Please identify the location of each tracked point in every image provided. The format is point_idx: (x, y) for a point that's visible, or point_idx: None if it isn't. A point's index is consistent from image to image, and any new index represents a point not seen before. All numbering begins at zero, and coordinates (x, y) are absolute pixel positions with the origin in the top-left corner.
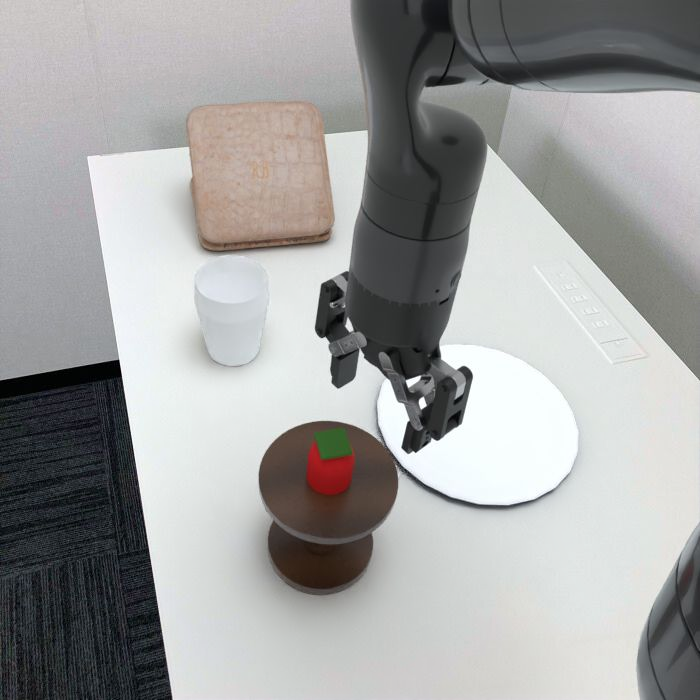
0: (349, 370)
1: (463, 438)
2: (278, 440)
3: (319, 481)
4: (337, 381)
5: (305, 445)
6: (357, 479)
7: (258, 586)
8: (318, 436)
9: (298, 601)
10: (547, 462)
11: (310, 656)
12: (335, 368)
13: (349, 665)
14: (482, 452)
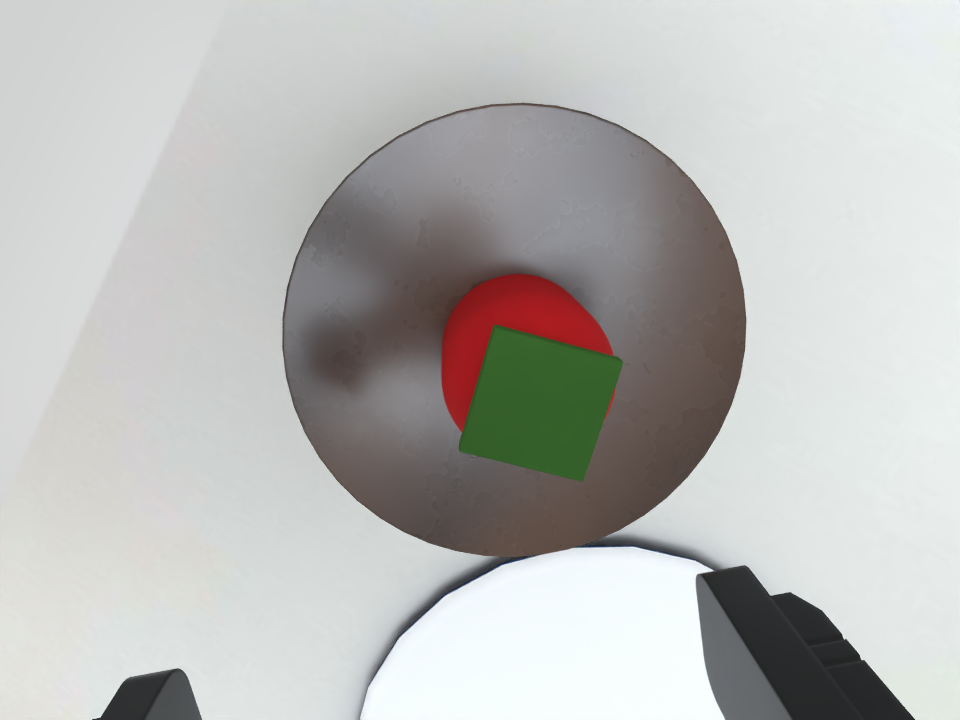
0: (744, 713)
1: (562, 698)
2: (727, 267)
3: (481, 296)
4: (721, 607)
5: (661, 338)
6: None
7: (469, 101)
8: (597, 368)
9: None
10: None
11: (266, 128)
12: (793, 664)
13: (212, 195)
14: (510, 712)
